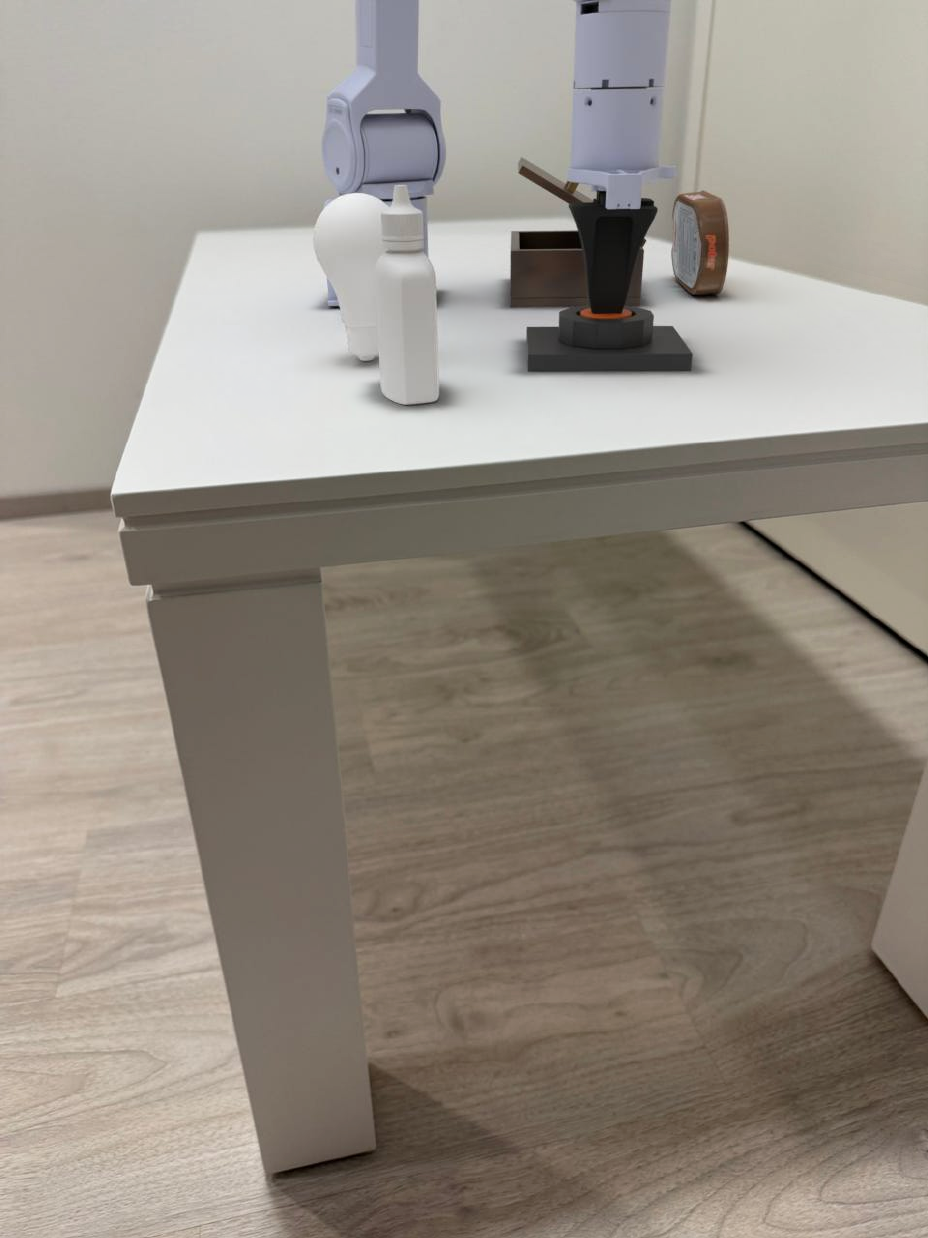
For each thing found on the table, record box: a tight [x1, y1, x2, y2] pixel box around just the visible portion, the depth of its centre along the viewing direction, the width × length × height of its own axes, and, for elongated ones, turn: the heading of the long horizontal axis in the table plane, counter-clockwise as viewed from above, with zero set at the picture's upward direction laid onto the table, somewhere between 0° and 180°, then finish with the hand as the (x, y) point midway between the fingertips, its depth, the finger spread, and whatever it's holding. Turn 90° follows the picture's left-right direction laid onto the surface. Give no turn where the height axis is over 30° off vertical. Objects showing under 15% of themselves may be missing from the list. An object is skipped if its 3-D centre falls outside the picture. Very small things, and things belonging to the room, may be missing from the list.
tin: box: [670, 189, 730, 296], centre depth 88 cm, size 15×3×8 cm, turn 179°
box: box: [509, 229, 645, 308], centre depth 88 cm, size 12×15×5 cm
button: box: [580, 308, 632, 319], centre depth 66 cm, size 4×4×2 cm
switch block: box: [525, 305, 694, 373], centre depth 66 cm, size 11×9×3 cm
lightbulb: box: [312, 193, 389, 362], centre depth 64 cm, size 6×6×11 cm
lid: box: [517, 156, 648, 249], centre depth 84 cm, size 12×15×5 cm
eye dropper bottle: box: [374, 185, 440, 406], centre depth 56 cm, size 4×6×12 cm
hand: (606, 312), depth 65 cm, fingers closed, pressing on button
